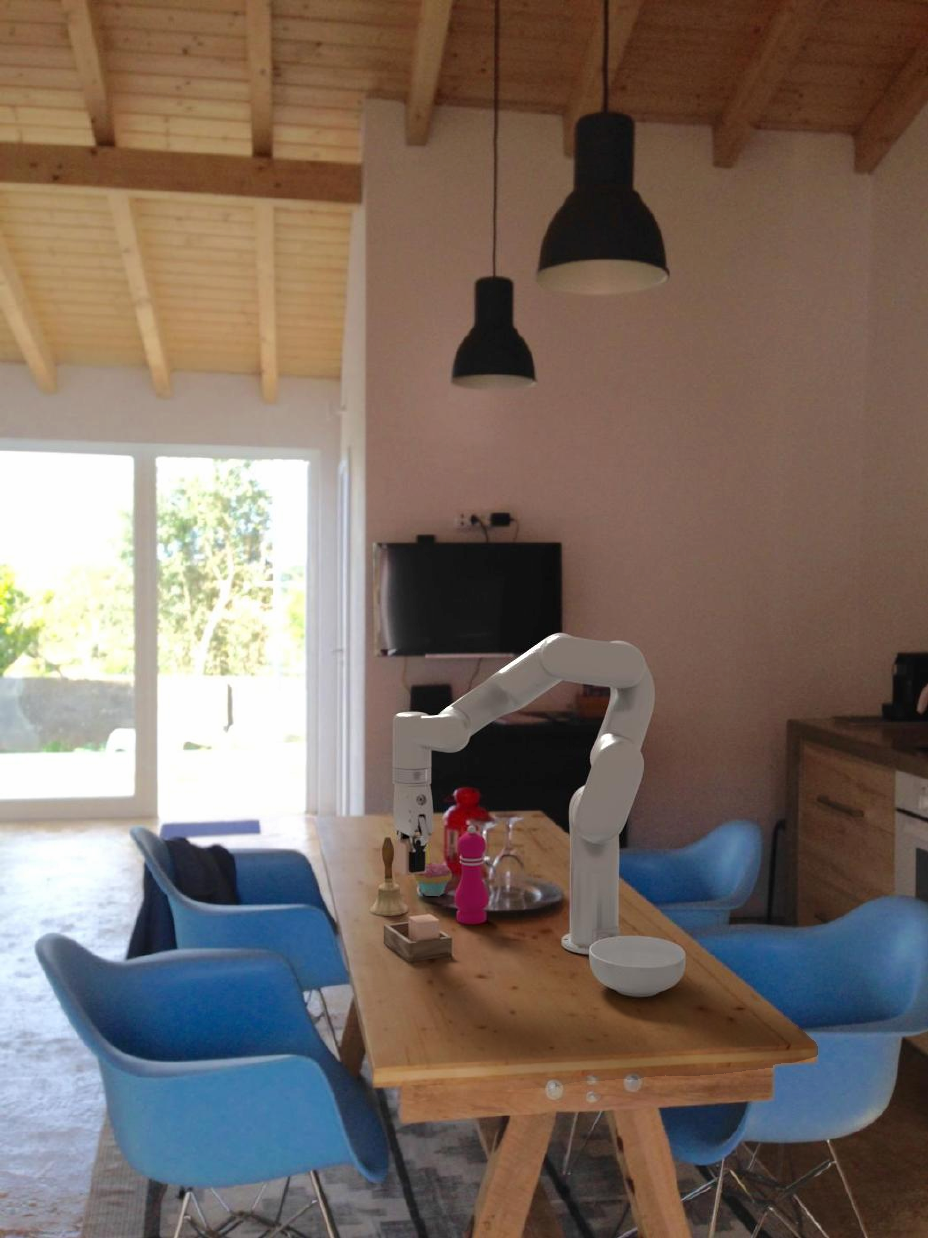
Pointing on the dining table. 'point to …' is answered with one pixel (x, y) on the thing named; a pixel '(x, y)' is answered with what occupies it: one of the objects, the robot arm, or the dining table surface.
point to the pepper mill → (471, 879)
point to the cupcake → (433, 877)
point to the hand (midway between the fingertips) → (411, 867)
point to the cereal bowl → (637, 964)
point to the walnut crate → (416, 943)
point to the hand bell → (388, 887)
